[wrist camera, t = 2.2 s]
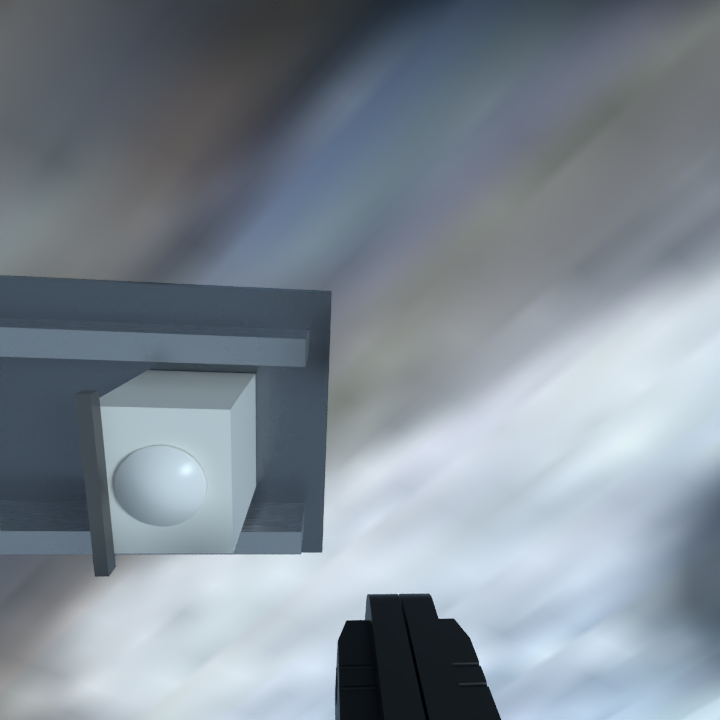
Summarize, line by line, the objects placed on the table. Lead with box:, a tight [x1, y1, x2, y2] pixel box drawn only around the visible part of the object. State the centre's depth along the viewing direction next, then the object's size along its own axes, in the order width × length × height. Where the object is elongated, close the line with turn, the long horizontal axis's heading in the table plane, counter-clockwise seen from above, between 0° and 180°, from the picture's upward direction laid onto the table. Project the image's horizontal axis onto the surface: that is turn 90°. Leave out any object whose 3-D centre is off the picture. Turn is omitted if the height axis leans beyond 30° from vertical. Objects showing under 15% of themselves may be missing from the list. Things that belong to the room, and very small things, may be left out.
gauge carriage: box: [75, 370, 256, 576], centre depth 17 cm, size 5×7×6 cm
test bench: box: [0, 275, 331, 555], centre depth 17 cm, size 26×14×7 cm, turn 87°
